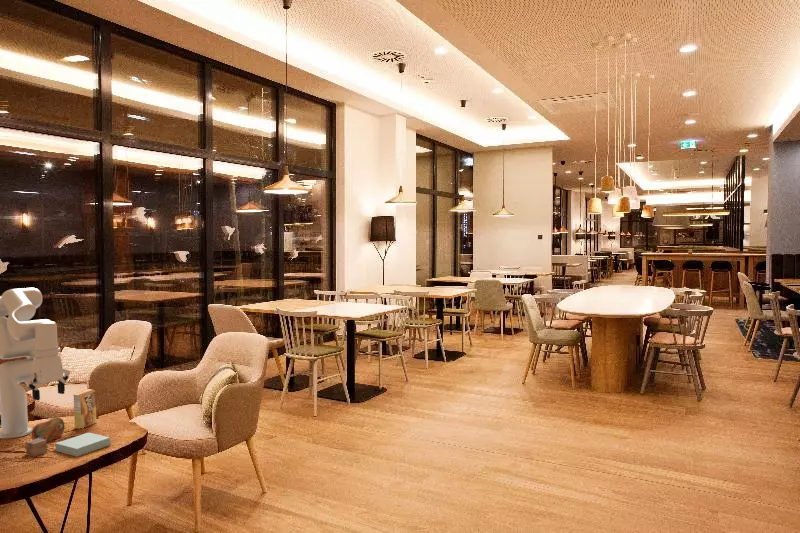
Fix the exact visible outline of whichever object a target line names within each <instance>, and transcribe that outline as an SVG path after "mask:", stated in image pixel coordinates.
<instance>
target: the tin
mask: <svg viewBox="0 0 800 533" xmlns="http://www.w3.org/2000/svg"><path fill="white" fill-rule="evenodd" d="M64 431H65V422H64V420H63V419H62V418H60V417H52V418H49V419H47V420H45V421H42V422H40V423H38V424H36V425H35V426H34V427H32V432H31V440H34V439H38V438H41V439H44V440H46V443H47V444H48V443H49V442H51V441H53V439H54V440H56V439H58V438H59V437H61V436H62V435H63V434H64Z"/></svg>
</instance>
